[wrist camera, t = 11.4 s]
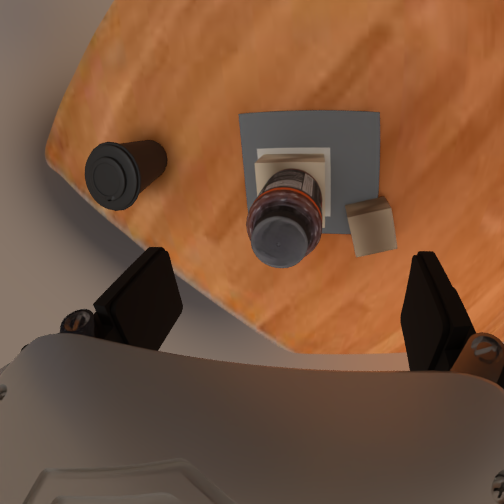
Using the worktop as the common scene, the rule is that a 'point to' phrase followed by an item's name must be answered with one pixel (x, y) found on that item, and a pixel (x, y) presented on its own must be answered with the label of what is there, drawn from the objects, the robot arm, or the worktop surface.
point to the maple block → (305, 162)
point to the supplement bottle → (286, 218)
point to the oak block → (371, 226)
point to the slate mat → (319, 142)
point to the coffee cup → (123, 171)
